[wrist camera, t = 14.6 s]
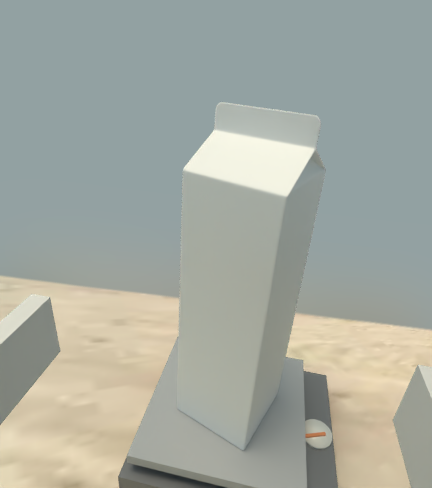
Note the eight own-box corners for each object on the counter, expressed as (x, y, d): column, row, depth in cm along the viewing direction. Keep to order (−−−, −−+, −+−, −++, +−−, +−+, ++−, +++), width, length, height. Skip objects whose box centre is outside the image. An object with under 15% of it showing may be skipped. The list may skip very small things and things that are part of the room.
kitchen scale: (321, 390, 35) (330, 361, 33) (335, 550, 23) (349, 519, 21) (173, 360, 37) (174, 331, 35) (119, 493, 25) (116, 461, 23)
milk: (216, 362, 32) (242, 99, 22) (278, 394, 29) (340, 111, 19) (174, 410, 27) (182, 103, 17) (243, 454, 24) (301, 121, 14)
